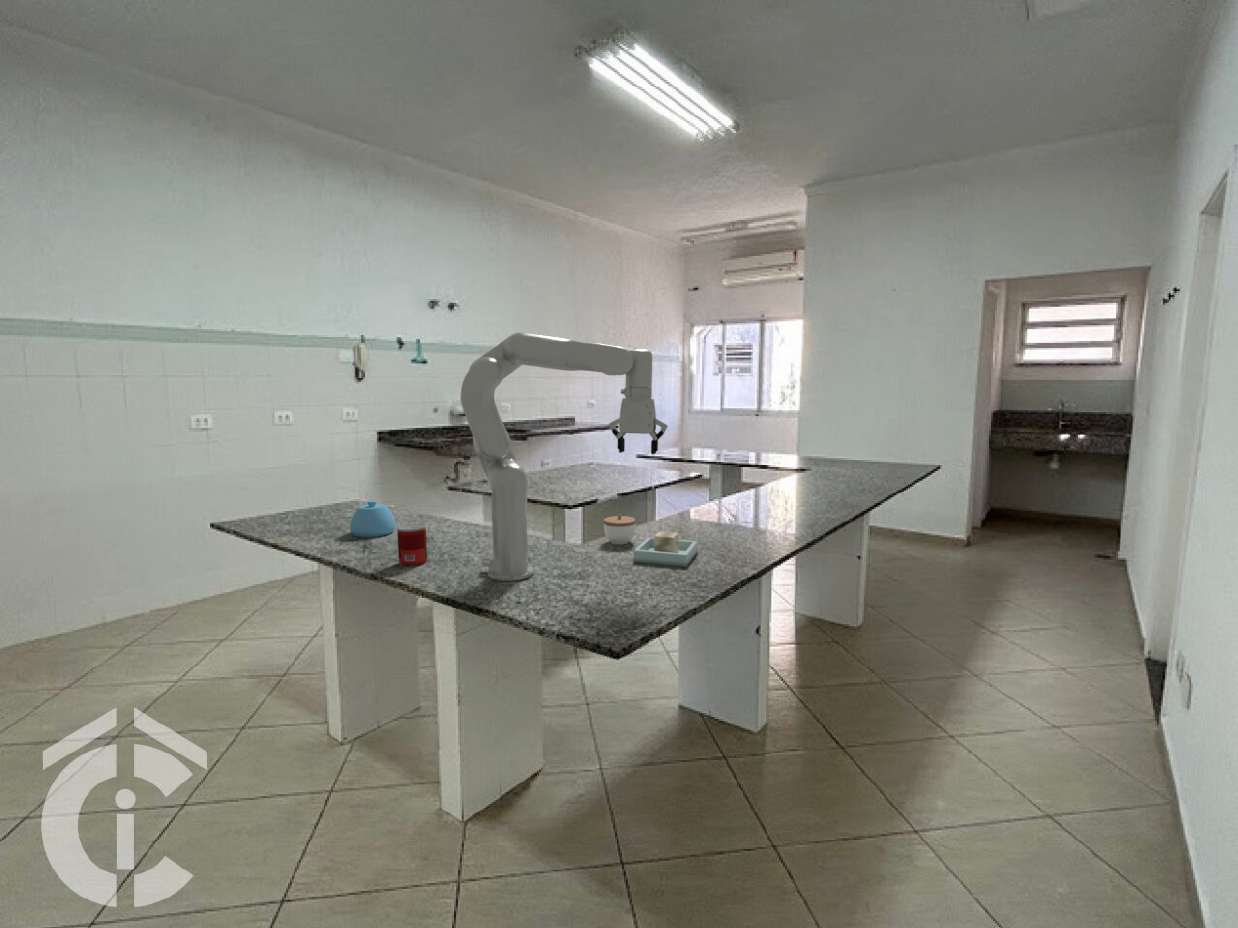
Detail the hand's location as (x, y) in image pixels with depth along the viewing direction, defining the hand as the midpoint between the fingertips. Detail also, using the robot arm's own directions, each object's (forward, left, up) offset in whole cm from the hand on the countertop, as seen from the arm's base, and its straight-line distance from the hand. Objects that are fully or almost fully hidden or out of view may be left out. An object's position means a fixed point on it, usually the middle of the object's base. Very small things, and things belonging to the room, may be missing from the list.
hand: (637, 452), depth 179 cm
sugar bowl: (-99, +5, -33) cm, 104 cm away
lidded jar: (-12, +20, -33) cm, 40 cm away
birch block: (+7, +8, -32) cm, 33 cm away
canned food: (-63, -21, -33) cm, 74 cm away
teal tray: (+7, +8, -33) cm, 34 cm away
